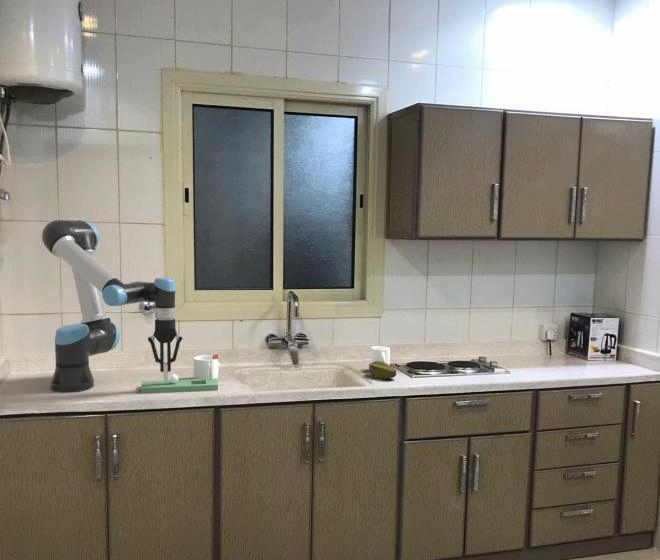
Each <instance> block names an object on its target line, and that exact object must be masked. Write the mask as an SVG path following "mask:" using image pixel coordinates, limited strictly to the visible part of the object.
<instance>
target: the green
mask: <svg viewBox="0 0 660 560" xmlns="http://www.w3.org/2000/svg"><path fill="white" fill-rule="evenodd" d="M212 359H218V360H219V354H210V379H194V378H192V379H179V380H178V382H177V383H175V384H172V383H170V381H169V379H168V381H164V380H149V381H148V380H147V381H142V382H141V387H140V394H156V393H157V394H158V392H159V393H160V392H161V393H162V392H163V393H177V392H178V393H181V392H183V393H184V391H185V392H204V391H206V390H207V391H218V390H219V384H218V382H217V381H218V380H217V379H212ZM207 391H206V392H207Z"/></svg>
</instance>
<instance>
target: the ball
mask: <svg viewBox="0 0 660 560" xmlns="http://www.w3.org/2000/svg"><path fill="white" fill-rule="evenodd" d="M168 380H169V381H170V383H172V384H175V383H177V382H178V380H180V379H179V375H178V374H176V373H173V374H172V373H171V375H169V376H168Z"/></svg>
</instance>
